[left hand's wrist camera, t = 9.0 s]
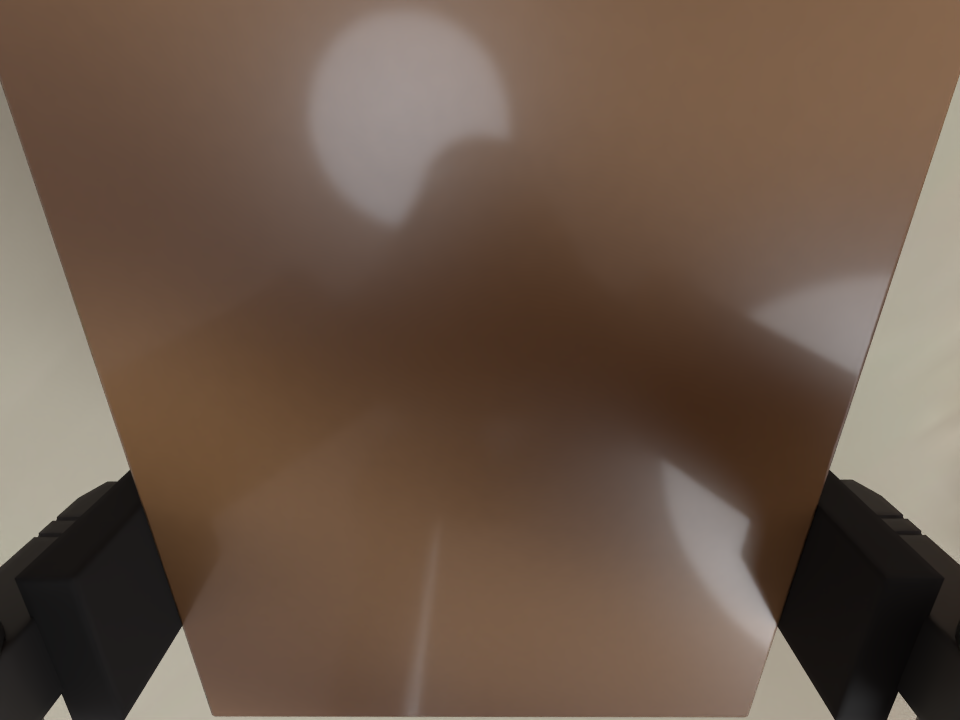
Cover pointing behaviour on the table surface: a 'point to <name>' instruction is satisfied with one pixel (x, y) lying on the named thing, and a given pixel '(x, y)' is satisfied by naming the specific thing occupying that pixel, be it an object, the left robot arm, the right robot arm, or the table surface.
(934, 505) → the table surface
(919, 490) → the table surface
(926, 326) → the table surface
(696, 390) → the wooden box
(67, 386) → the table surface
